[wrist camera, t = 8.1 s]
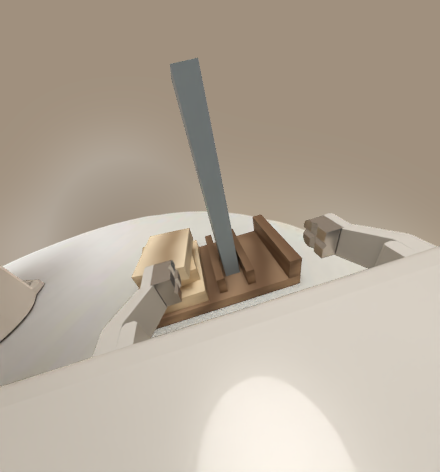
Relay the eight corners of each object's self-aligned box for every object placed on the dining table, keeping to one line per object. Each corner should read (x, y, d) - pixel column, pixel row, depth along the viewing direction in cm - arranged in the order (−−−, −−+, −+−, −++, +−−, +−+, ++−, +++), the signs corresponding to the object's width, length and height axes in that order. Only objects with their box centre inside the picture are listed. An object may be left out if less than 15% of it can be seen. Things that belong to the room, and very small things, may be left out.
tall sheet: (226, 276, 25) (170, 64, 12) (219, 254, 29) (171, 79, 16) (239, 272, 25) (197, 57, 12) (230, 251, 29) (192, 74, 16)
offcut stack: (144, 321, 21) (118, 290, 18) (153, 262, 30) (137, 234, 27) (209, 300, 22) (195, 267, 18) (199, 248, 31) (189, 220, 28)
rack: (135, 335, 22) (116, 316, 19) (147, 269, 32) (136, 250, 29) (299, 282, 23) (301, 258, 21) (262, 235, 33) (260, 214, 30)
